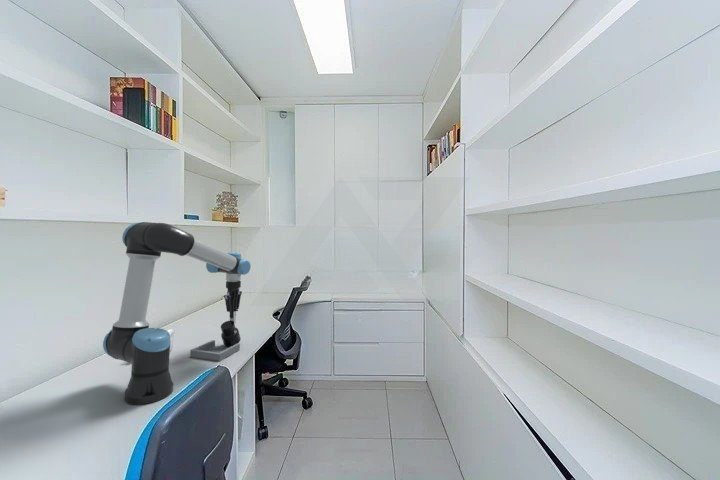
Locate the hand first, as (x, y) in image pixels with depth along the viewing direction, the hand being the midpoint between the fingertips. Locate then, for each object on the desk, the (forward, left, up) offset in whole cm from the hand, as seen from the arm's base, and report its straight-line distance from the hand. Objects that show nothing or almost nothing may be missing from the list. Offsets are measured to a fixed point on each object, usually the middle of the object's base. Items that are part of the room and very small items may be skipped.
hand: (232, 323), depth 170 cm
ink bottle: (+1, 0, -11) cm, 11 cm away
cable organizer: (-25, +24, -13) cm, 37 cm away
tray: (-13, 0, -12) cm, 18 cm away
